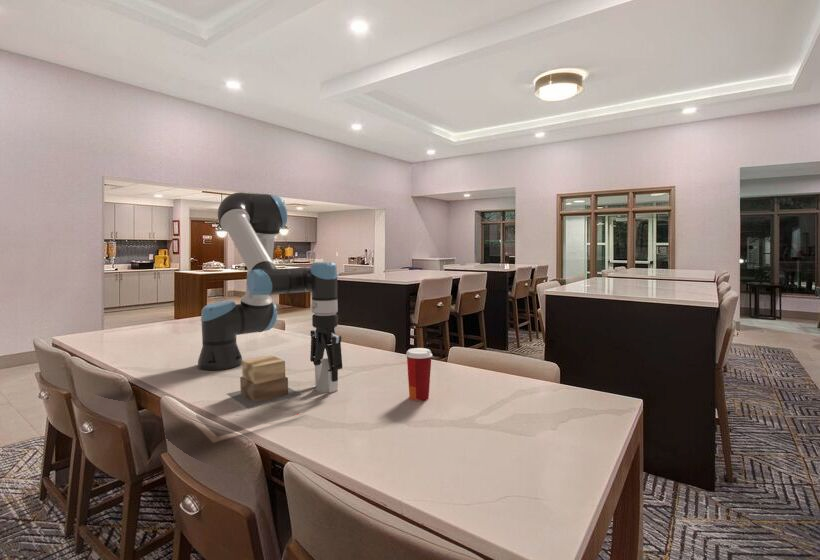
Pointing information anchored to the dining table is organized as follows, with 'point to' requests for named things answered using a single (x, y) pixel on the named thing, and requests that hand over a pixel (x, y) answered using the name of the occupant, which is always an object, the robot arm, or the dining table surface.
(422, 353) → the paper cup
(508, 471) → the dining table surface
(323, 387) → the flask
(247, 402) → the grey mat
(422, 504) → the dining table surface
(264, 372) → the oak block
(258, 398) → the walnut block
